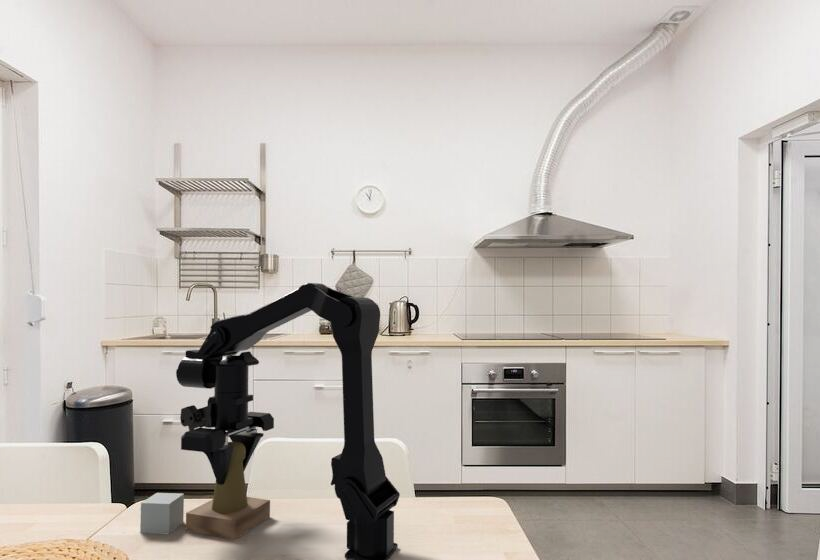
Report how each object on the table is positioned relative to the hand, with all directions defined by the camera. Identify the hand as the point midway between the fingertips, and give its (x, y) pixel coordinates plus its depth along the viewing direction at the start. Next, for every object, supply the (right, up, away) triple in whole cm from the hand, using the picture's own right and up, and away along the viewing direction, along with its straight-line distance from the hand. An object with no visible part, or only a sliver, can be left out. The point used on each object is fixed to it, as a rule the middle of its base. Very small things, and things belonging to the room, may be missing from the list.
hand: (230, 479), depth 96 cm
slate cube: (-11, -8, -2) cm, 14 cm away
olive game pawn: (0, -5, 0) cm, 5 cm away
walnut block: (0, -8, 0) cm, 8 cm away
